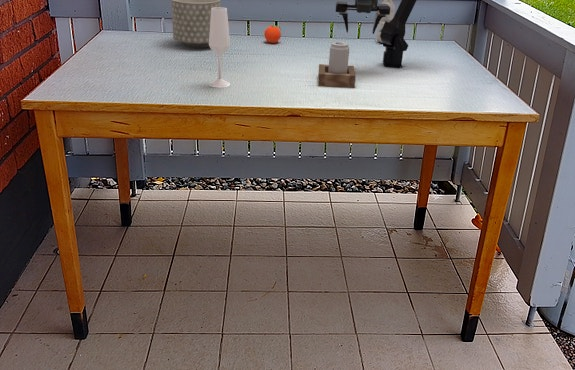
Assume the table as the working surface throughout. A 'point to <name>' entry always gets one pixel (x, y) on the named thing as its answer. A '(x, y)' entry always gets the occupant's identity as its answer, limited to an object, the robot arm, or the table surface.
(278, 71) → the table surface
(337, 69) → the beverage can
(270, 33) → the clementine
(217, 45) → the champagne flute
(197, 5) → the planter
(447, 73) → the table surface
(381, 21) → the plastic bottle
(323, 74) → the socket block
